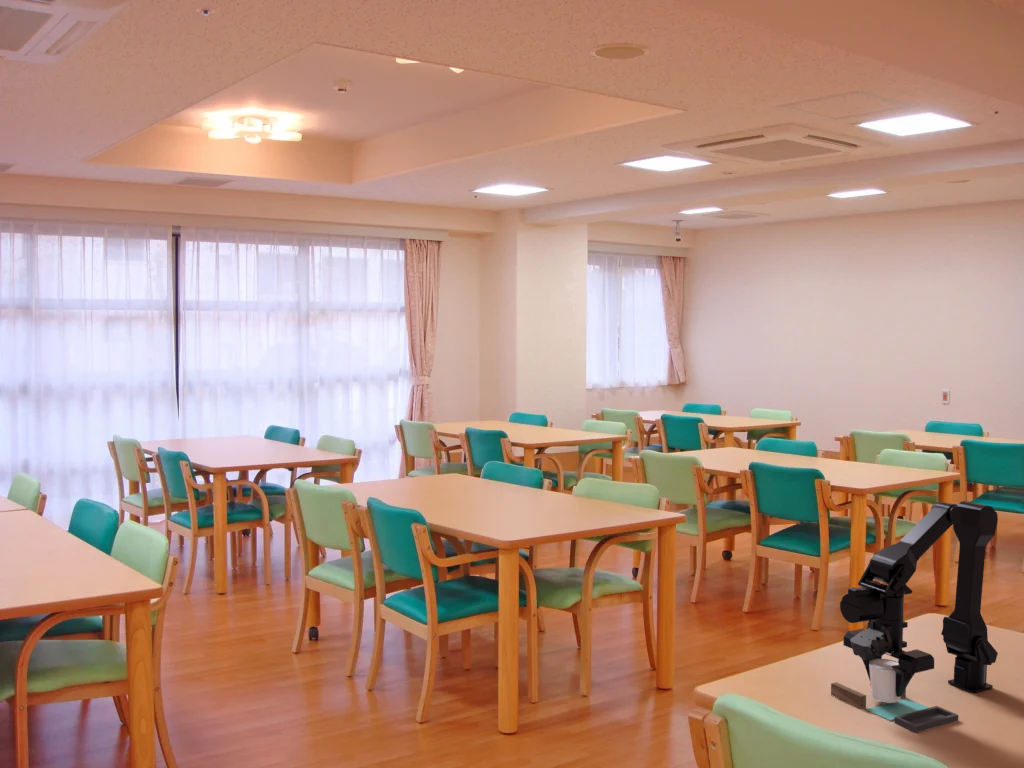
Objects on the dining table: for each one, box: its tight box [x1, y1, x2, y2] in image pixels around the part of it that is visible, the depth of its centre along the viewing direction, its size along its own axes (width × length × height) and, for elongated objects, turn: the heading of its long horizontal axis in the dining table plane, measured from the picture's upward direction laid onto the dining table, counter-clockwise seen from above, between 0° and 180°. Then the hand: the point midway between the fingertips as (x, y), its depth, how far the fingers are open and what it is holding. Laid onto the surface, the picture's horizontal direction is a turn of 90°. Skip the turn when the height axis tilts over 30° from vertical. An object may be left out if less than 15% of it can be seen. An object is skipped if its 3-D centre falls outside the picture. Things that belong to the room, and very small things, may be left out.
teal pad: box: [866, 698, 930, 722], centre depth 197 cm, size 12×6×1 cm, turn 118°
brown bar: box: [830, 681, 907, 710], centre depth 204 cm, size 13×8×2 cm, turn 118°
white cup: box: [869, 658, 902, 704], centre depth 200 cm, size 7×7×7 cm
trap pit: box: [894, 705, 959, 733], centre depth 191 cm, size 12×5×1 cm, turn 118°
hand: (886, 690), depth 200 cm, fingers closed on white cup, 6 cm apart
